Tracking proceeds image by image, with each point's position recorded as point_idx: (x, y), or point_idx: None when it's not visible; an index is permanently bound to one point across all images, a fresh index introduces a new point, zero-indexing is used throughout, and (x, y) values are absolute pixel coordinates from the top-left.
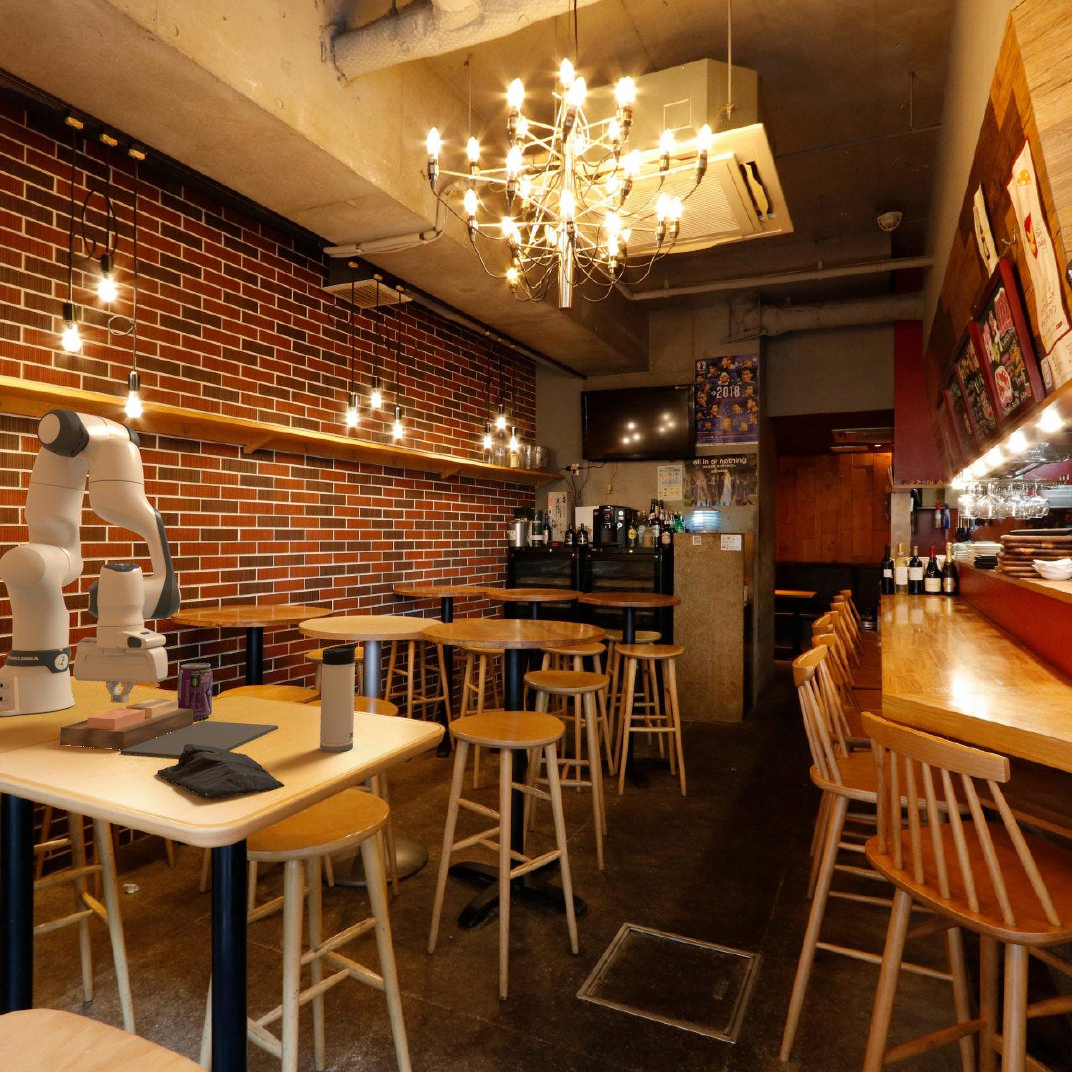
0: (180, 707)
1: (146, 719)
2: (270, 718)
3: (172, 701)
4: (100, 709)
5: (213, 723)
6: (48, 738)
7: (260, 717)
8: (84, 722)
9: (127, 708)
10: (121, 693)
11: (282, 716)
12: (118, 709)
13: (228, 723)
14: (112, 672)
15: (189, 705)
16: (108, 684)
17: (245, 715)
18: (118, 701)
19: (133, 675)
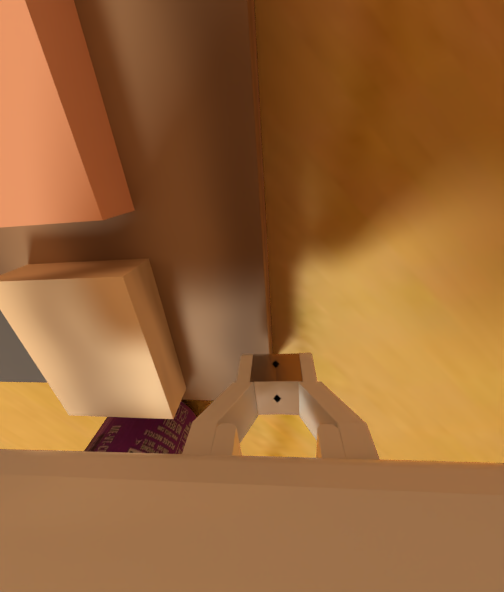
0: (144, 418)
1: (11, 232)
2: (19, 431)
3: (61, 396)
4: (486, 441)
5: (36, 367)
6: (431, 34)
7: (44, 434)
8: (208, 38)
9: (121, 272)
10: (242, 388)
11: (18, 444)
12: (76, 195)
13: (7, 374)
14: (297, 579)
15: (111, 425)
16: (347, 440)
17: (86, 441)
18: (266, 355)
19: (42, 521)
